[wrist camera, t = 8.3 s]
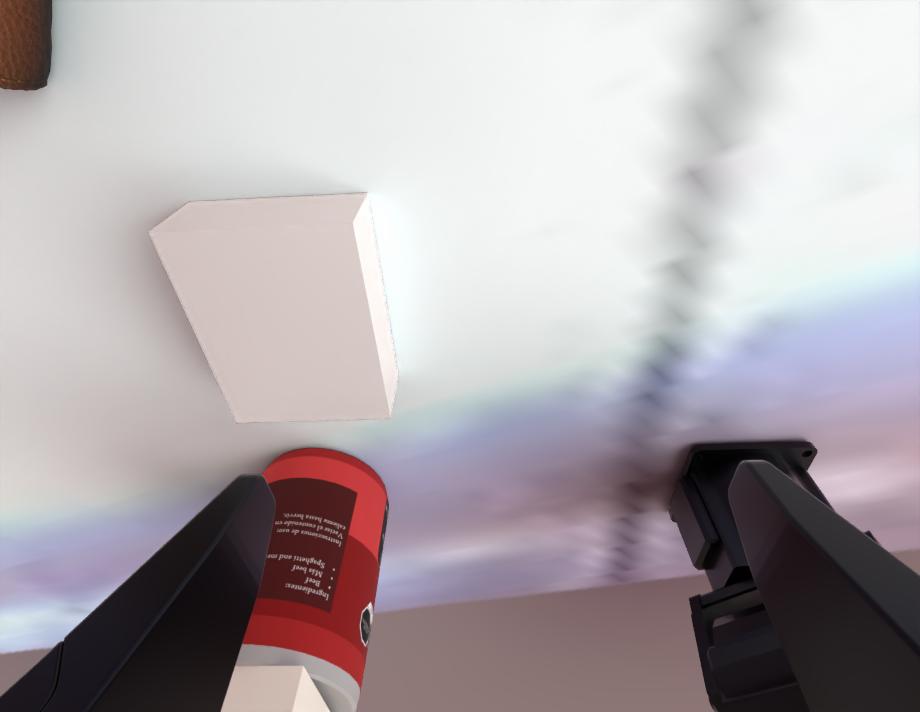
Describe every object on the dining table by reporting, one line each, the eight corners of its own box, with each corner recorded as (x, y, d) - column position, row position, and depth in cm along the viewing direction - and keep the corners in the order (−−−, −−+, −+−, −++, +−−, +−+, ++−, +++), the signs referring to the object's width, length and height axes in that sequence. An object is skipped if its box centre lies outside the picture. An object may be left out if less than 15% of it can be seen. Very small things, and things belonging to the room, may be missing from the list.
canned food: (328, 540, 33) (276, 743, 24) (233, 476, 29) (128, 690, 20) (418, 501, 30) (396, 713, 21) (325, 424, 26) (251, 644, 17)
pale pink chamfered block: (367, 192, 18) (352, 222, 16) (398, 375, 24) (390, 418, 21) (189, 201, 19) (148, 232, 16) (259, 380, 24) (235, 423, 22)
